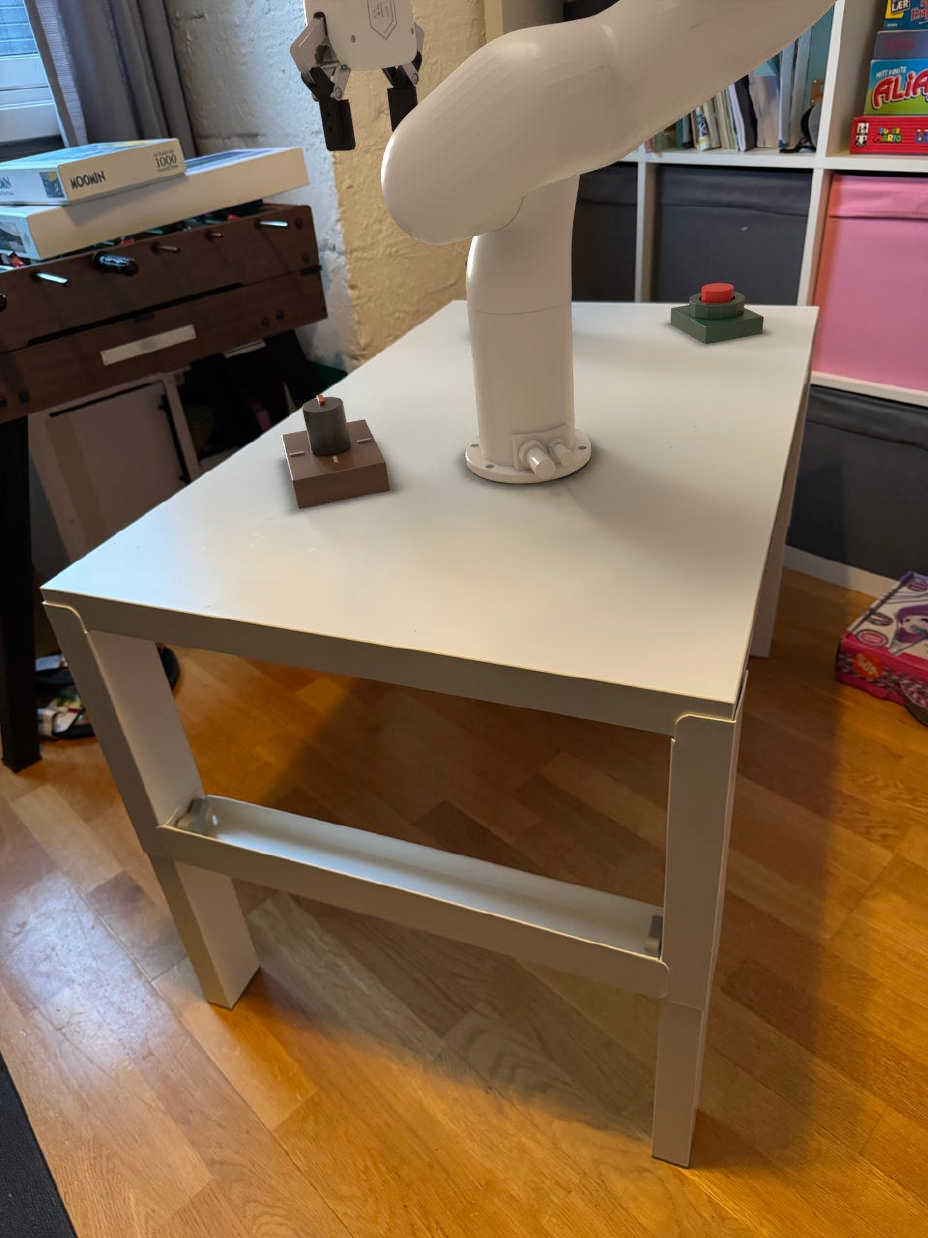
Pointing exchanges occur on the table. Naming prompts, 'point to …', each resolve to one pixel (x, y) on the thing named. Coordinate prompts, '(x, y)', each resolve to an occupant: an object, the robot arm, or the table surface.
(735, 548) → the table surface
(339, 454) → the control panel
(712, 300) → the button
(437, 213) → the robot arm
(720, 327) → the button housing
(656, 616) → the table surface
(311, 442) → the dial
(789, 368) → the table surface
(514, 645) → the table surface
